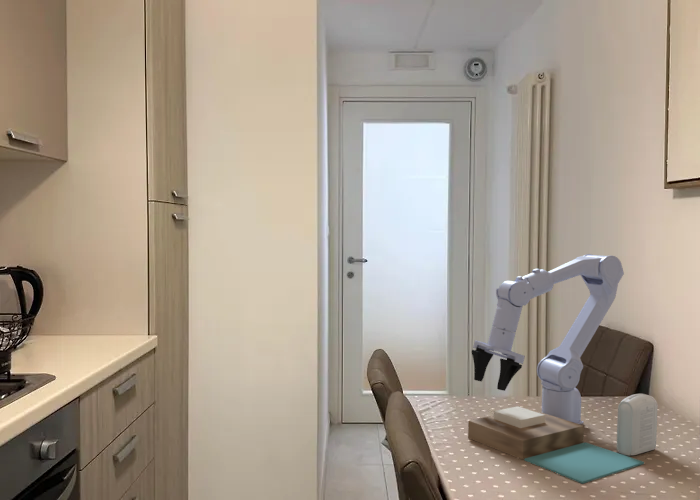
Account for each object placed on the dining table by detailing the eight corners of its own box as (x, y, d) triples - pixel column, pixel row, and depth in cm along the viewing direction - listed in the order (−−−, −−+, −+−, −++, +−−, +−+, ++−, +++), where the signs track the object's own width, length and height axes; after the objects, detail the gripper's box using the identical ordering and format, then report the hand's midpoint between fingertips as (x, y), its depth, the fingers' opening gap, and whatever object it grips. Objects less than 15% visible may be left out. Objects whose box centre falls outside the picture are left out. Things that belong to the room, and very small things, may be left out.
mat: (585, 444, 142) (585, 442, 142) (644, 463, 131) (644, 461, 130) (524, 460, 131) (524, 458, 131) (582, 483, 120) (582, 481, 119)
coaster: (517, 413, 151) (517, 406, 151) (544, 422, 144) (544, 414, 144) (493, 418, 146) (493, 411, 146) (520, 428, 140) (520, 420, 140)
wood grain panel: (527, 424, 156) (528, 408, 156) (583, 443, 143) (584, 425, 142) (468, 437, 145) (468, 420, 145) (522, 459, 132) (523, 440, 131)
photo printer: (640, 443, 143) (642, 389, 143) (659, 449, 139) (661, 393, 139) (613, 452, 137) (614, 395, 137) (631, 458, 134) (633, 400, 133)
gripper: (470, 320, 156) (456, 374, 155) (515, 333, 144) (500, 392, 143) (490, 325, 160) (476, 378, 159) (535, 338, 148) (520, 395, 147)
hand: (489, 385), depth 151 cm, fingers open, 7 cm apart
